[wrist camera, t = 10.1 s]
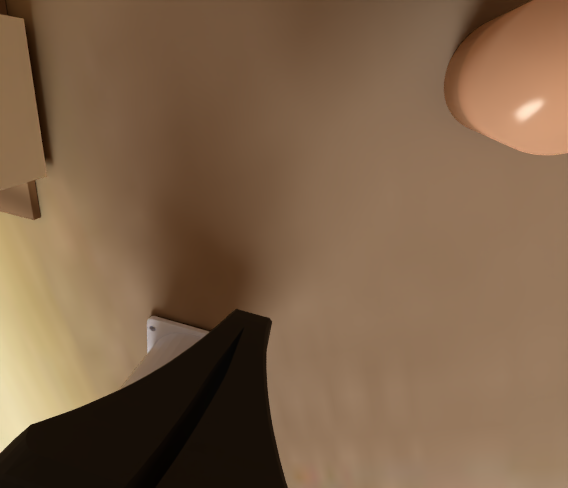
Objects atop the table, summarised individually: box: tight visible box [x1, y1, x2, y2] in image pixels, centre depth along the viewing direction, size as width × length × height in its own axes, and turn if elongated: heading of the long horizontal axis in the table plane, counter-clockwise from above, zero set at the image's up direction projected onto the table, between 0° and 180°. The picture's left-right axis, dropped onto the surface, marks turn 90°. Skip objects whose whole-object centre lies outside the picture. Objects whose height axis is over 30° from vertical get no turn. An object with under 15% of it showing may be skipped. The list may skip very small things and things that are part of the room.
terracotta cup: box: [444, 0, 568, 155], centre depth 14 cm, size 5×5×6 cm
